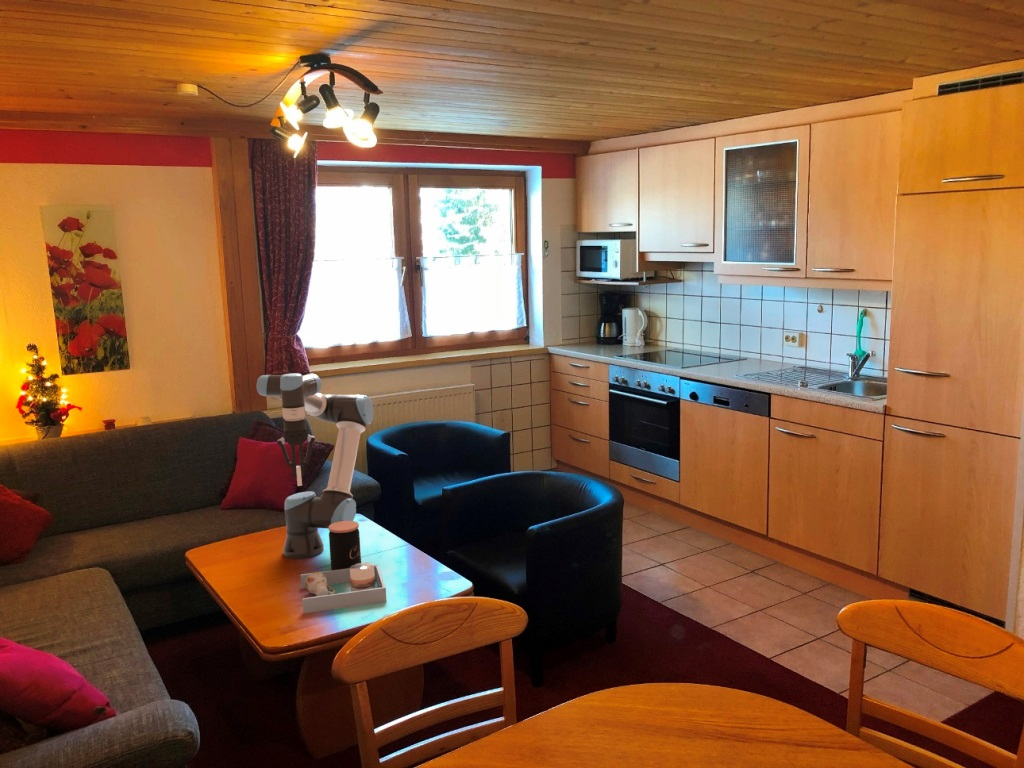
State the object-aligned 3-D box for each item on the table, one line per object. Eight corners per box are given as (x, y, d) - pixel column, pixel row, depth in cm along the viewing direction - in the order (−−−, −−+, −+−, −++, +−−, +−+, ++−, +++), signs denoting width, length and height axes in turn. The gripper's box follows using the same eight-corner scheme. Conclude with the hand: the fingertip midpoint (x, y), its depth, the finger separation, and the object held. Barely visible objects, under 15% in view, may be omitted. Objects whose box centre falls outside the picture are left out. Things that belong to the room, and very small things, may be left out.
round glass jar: (350, 589, 278) (348, 564, 277) (374, 586, 280) (372, 561, 279) (352, 598, 270) (350, 573, 269) (376, 595, 273) (375, 569, 271)
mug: (315, 604, 266) (300, 577, 268) (316, 606, 275) (302, 580, 277) (335, 591, 269) (320, 565, 271) (336, 594, 278) (321, 568, 280)
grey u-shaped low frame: (301, 588, 280) (300, 574, 279) (378, 578, 287) (377, 564, 286) (303, 614, 260) (302, 599, 259) (386, 602, 267) (385, 587, 266)
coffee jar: (354, 580, 286) (351, 530, 283) (326, 578, 288) (323, 529, 285) (366, 568, 296) (363, 521, 294) (338, 567, 299) (335, 520, 296)
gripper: (274, 422, 275) (280, 489, 279) (314, 419, 279) (319, 485, 283) (274, 418, 283) (280, 484, 287) (313, 414, 286) (318, 479, 290)
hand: (299, 484), depth 285 cm, fingers closed
